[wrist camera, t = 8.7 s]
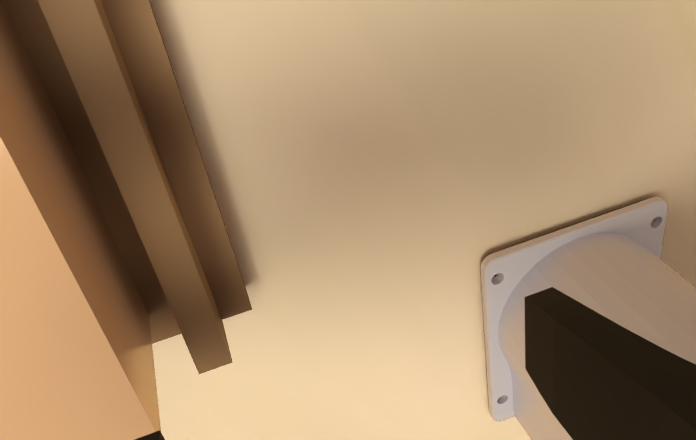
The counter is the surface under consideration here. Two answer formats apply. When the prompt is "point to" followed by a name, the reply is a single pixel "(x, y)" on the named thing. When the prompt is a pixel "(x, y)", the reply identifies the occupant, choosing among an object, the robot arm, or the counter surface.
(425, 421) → the counter surface
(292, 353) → the counter surface
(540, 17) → the counter surface
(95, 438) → the clay bar
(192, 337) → the drying rack
